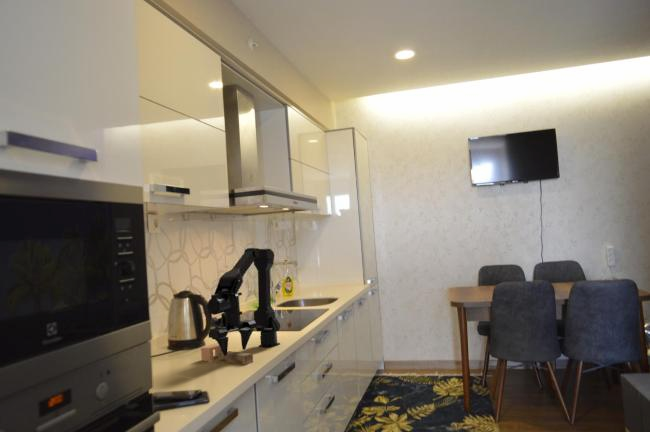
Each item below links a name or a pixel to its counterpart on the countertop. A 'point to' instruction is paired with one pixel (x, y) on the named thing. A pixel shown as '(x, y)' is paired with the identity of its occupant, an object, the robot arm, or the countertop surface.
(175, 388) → the countertop surface
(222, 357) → the tan long bar
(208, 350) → the pink bridge block
